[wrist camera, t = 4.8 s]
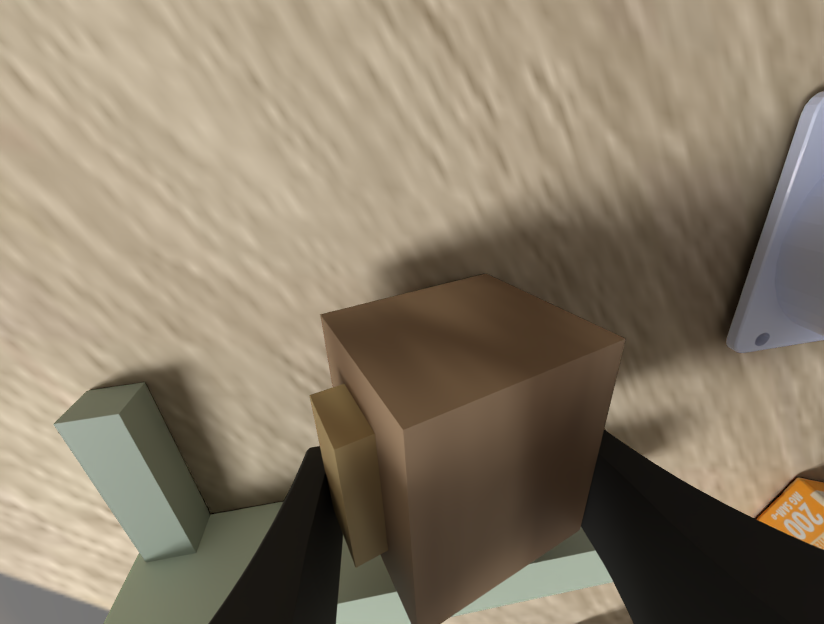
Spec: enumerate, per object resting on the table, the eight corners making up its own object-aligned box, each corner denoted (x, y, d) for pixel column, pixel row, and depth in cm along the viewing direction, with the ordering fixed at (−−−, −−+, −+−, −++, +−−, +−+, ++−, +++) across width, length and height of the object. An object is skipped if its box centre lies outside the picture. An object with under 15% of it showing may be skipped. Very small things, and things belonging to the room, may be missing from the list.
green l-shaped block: (620, 311, 12) (720, 379, 9) (589, 479, 16) (653, 573, 13) (72, 393, 11) (-53, 510, 8) (173, 558, 15) (118, 688, 11)
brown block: (625, 338, 8) (351, 451, 5) (579, 530, 10) (384, 661, 8) (486, 273, 11) (287, 322, 9) (478, 427, 14) (324, 496, 11)
